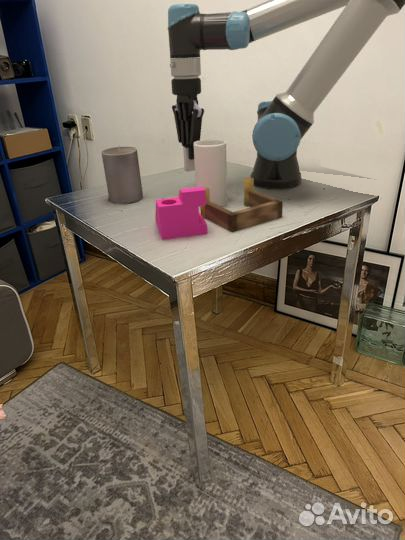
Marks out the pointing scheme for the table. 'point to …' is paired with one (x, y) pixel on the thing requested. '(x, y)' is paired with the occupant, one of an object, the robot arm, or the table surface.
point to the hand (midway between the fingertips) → (190, 170)
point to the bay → (258, 212)
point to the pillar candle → (122, 174)
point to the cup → (211, 168)
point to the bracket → (181, 214)
